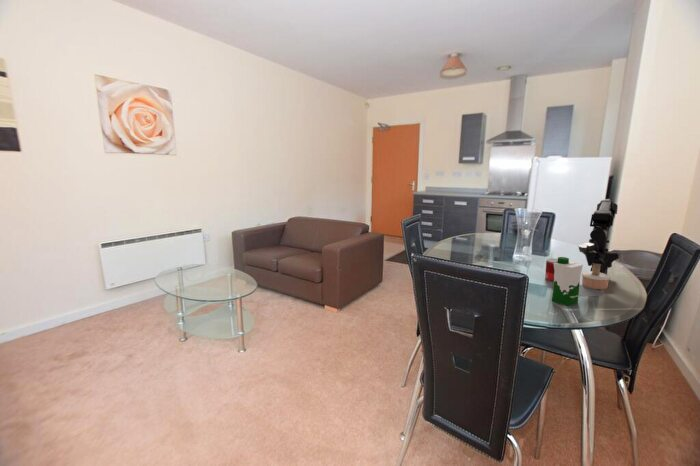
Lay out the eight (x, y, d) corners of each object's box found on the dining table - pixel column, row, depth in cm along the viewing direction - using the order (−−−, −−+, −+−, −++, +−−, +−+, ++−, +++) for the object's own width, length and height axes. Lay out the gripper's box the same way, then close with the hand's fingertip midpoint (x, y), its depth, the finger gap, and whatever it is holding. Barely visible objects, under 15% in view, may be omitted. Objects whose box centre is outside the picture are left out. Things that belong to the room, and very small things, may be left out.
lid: (598, 272, 158) (599, 261, 157) (615, 280, 148) (617, 268, 146) (576, 273, 159) (577, 262, 158) (591, 280, 148) (593, 268, 147)
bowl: (597, 282, 159) (598, 273, 158) (612, 289, 149) (613, 279, 148) (577, 282, 159) (578, 273, 158) (591, 290, 149) (592, 280, 149)
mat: (586, 285, 155) (586, 284, 155) (608, 296, 142) (608, 295, 141) (558, 286, 156) (558, 285, 156) (576, 296, 142) (576, 296, 142)
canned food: (557, 283, 160) (558, 263, 158) (541, 279, 167) (543, 259, 164) (565, 280, 163) (567, 260, 161) (550, 276, 170) (551, 257, 168)
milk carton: (560, 297, 143) (564, 255, 139) (581, 304, 135) (586, 260, 131) (548, 300, 139) (551, 258, 136) (568, 308, 131) (573, 263, 128)
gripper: (569, 234, 159) (567, 263, 162) (596, 242, 141) (592, 274, 144) (592, 233, 158) (589, 263, 161) (621, 241, 140) (617, 274, 143)
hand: (596, 268), depth 152 cm, fingers open, 9 cm apart
